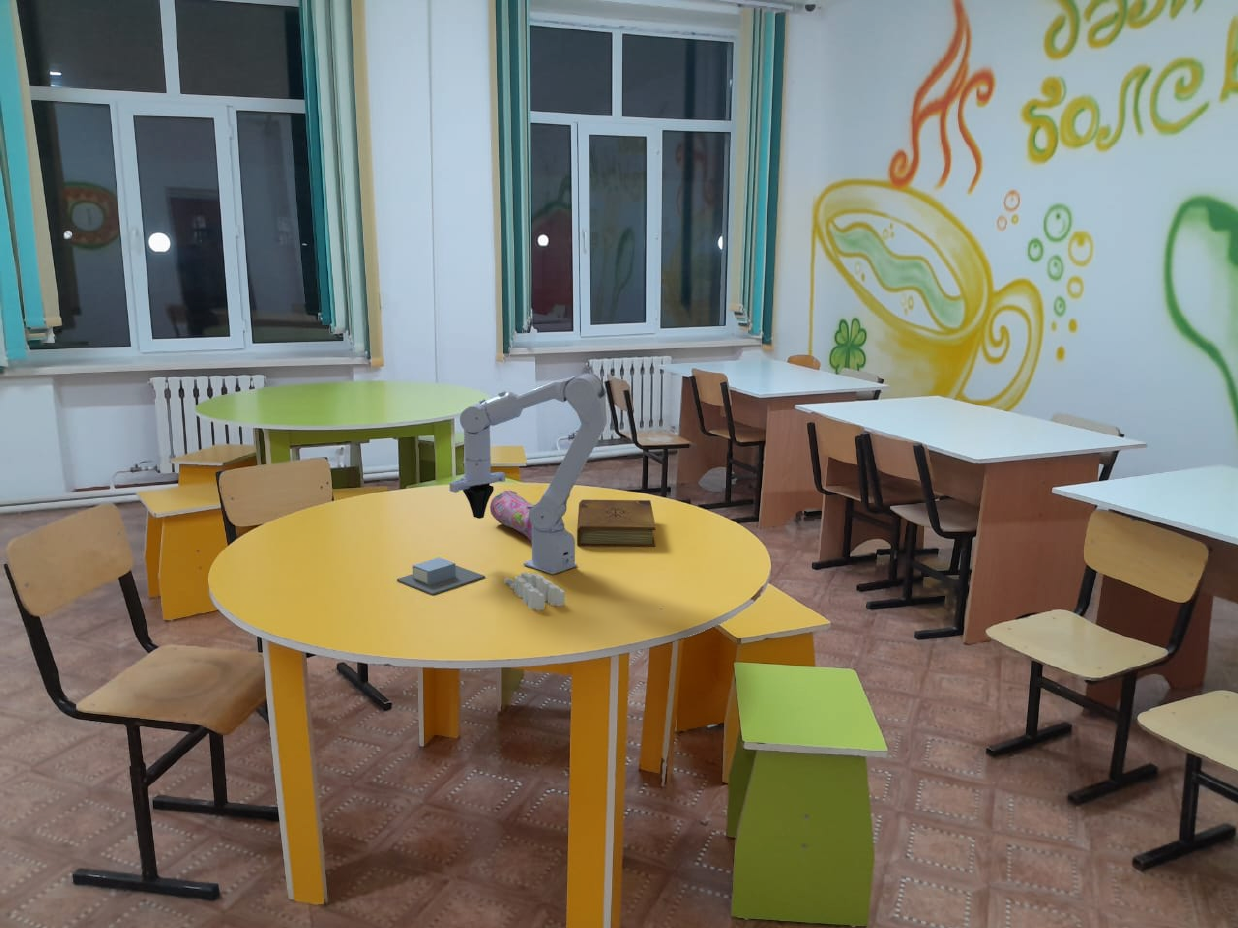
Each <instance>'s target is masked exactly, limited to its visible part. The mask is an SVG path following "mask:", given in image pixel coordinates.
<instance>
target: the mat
mask: <svg viewBox="0 0 1238 928" xmlns="http://www.w3.org/2000/svg"><path fill="white" fill-rule="evenodd" d="M455 567H456V577H453V578H450V579H447V580H444V581H441V582H437V583H434V584H431V585H428V584H425V583H423V582H420V581H417V580H415V579H413V573H412V574H410V575H406V576H402V577H399V578H397V579H396V581H397V582H399V583H400V584H404V585H406V586H409V587H412V588H413V589H416V590H419V591H421V592H424V593H425V594H429V595H431V596H435V595H438V594H440V593H444V592H446V591H449V590H452V589H455V588H459V587H462V586H464V585H467V584H470V583H474V582H476V581H480V580H482V579H486V576H485V575H484V574H481V573H478V572H476V571H473V570H470V569H467V568H464V567H461V566H458V565H456V564H455Z"/></svg>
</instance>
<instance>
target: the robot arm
mask: <svg viewBox="0 0 1238 928" xmlns="http://www.w3.org/2000/svg"><path fill="white" fill-rule="evenodd" d="M606 397H607V389H606V387H605V386H604V384H603V382H602V380H601V378H600V377H599V376H598V375H596V374H595V373H592V372H585V373H582V374H579V376H578V377H577V375H573V376H568V377H564V378H561V379H560V378H559V379H557V380H554V381H551V382H549V383H546V384H544V385H541V386H538V387H535V388H534V389H531V390H529V391H526V392H524V393H521V394H516V393H514V392H511V391H508V392H507V391H506V390H504V391H501V392H499V393H498V396H495V397H492V398H490V399H487V400H486V399H485V398H483V399H481V400H479V402H478V403H476V404H473V405H470V406H468V407H466V408H465V409H464V410H463V411H462V412H461V413H460V416H459V423H460V426H461V427H462V429H463V446H464V447H463V448H464V449H463V454H464V475H463V477H462V478H458V479H457V480H454V481H452V482H449V483H448V484H449V492H451V493H459V492H460V491H462V492H463V494H464V495H465V497H466V498H467V501H468V503H469V505H470V509H471V512H472V516H473V518H475V519H479V520H481V519H483V518H485V514H486V509H487V506H488V502H489V500H490V497H491V496H492V494H493V493H494V491H495V490H494V489H495V488H494V486H493V485H490V484H494V483H500V482H501V483H502V482H506V473H505V472H502V471H497V472H492V471H491V469H492V467H491V466H492V463H491V462H492V461H491V458H492V457H491V430H490V429H491V426H493V427H494V426H497V425H499V424H503V423H506V422H508V421H511V420H514V419H518V418H520V417H521V414H522V412H523V410H524V409H526V408H530V407H532V406H533V407H534V406H536V405H539V404H542V403H544V402H549V401H551V400H556V401H559V402H561V403H565V402H568V404H569V405H570V406H571V408H572V409H573V410H575V413H576V414H577V416H578V418H579V419H578V420H580V423H581V425H580V427H579V429H578V431H577V432H576V435H575V436H574V438H573V440H572V442H571V444H570V445H569V448H568V449H567V451H566V453H565V455H564V457H563V459H562V461H561V462H560V465H559V466H558V469H557V470H556V472H555V474H554V476H553V478H552V480H551V482H550V484H549V485H548V487H547V488H546V490H545V491H544V493H543V494H542V495H541V498H540V499H539V501H538V502H536V503H535V504H533V506H532V508H531V509H530V511H529V520H530V523H531V524H532V542H531V559H530V560H527V561H524V562H523V565H524V566H527V567H529V568H533V569H535V570H539V571H542V572H544V573H547V574H550V575H555V574H558V573H561V572H564V571H567V570H569V569H572V568H576V567H577V566H578V563H576V561H575V559H576V540H575V537H574V535H573V534H572V533H571V532H569V531H568V530H567V529H566V528H565V523H564V520H563V516H565V514H566V511H567V504H568V503H567V502H568V499H569V497H570V496H571V491H572V489H573V488H574V486H575V484H576V482H577V481H578V478H579V476H580V474H581V473H582V470H584V467H585V465H586V463H587V462H588V460H589V458H590V456H591V454H592V452H593V450H594V448H595V447H596V445H597V443H598V441H599V439H600V437H601V435H602V434H603V432H604V430H605V428H606V426H607V424H608V423H607V422H608V417H607V405H606V403H607V400H606Z"/></svg>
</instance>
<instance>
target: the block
mask: <svg viewBox="0 0 1238 928" xmlns="http://www.w3.org/2000/svg"><path fill="white" fill-rule="evenodd" d="M455 565H456V563H455V562H453V561H451V560H447V559H444V558H441V557H437V558H436V557H435V558H432V559H429V560H426V561H422V562H419V563H416V564H413V565H412V574H413V579H415V580H417V581H420V582H423V583H425V584H428V585H431V584H434V583H437V582H441V581H444V580H447V579H450V578H453V577H456V567H455Z"/></svg>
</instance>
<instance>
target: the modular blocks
mask: <svg viewBox="0 0 1238 928" xmlns="http://www.w3.org/2000/svg"><path fill="white" fill-rule="evenodd" d="M504 584H505V585H508V586H509V588H510V589H511V590H513V593H514V594H515V595H517V596H518V598H519V599H520V598H522V603H524V605H527V607H528V608H529V609H530V610H536V611H540V610H541V611H542V610H545V602H547V603H548V605H550V606H552V607H553V606H556V607H562V606H565V605H566V597H565V596H566V592H565V590H563V589H562V588H560V586H557V585H556V584H554V583H553V582H552V581H551V580H550V579H549V580H547V579H546V578H544V577H543V576H542V575H541V574H540V575H539V574H538V573H536V572H535V573H528V572H526V571H525V572H521V573H520V575H517V576H514V578H513V580H512V579H511V578H510V577H509V578H507V577H506V578H504Z"/></svg>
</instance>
